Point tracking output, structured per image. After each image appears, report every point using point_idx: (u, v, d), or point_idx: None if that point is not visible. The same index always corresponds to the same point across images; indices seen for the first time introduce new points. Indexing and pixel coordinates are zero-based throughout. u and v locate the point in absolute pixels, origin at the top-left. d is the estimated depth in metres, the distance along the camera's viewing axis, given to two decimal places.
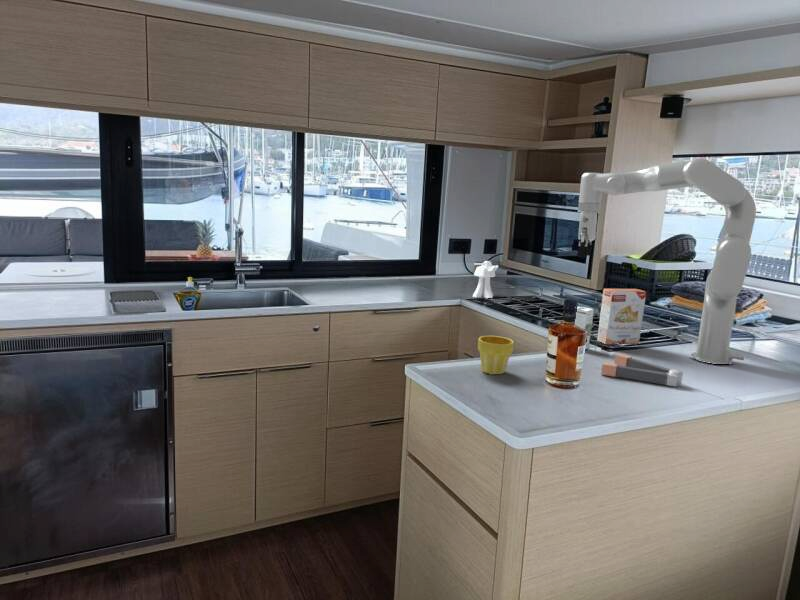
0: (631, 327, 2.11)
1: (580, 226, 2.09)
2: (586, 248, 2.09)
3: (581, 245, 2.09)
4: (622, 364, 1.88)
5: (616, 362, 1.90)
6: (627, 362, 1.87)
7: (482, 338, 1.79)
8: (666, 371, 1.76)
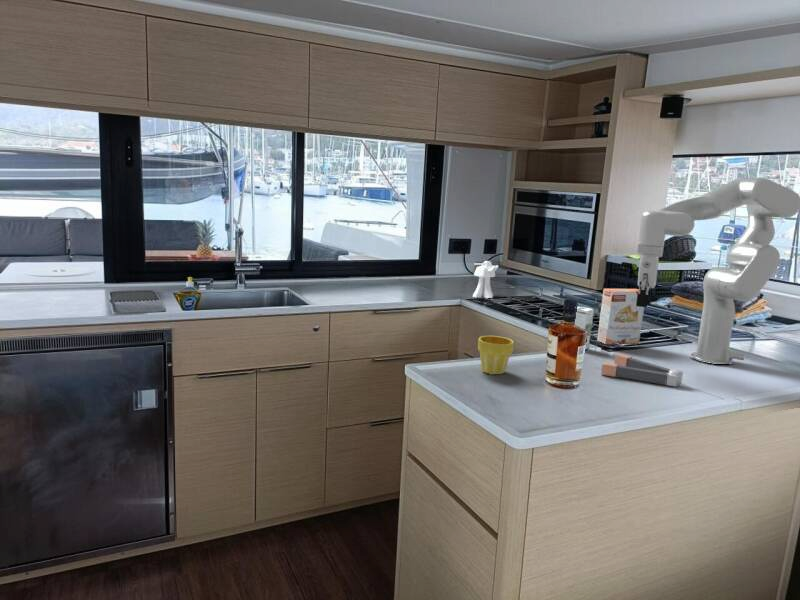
0: (631, 327, 2.11)
1: (640, 271, 1.85)
2: (647, 296, 1.85)
3: (641, 293, 1.85)
4: (622, 364, 1.88)
5: (616, 362, 1.90)
6: (627, 362, 1.87)
7: (482, 338, 1.79)
8: (666, 371, 1.76)
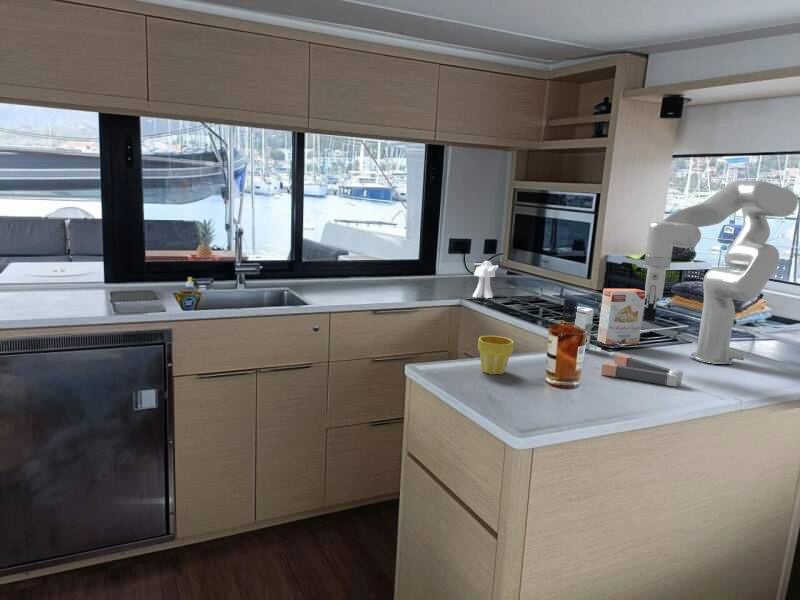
0: (630, 327, 2.11)
1: (648, 283, 1.83)
2: (654, 310, 1.87)
3: (649, 307, 1.86)
4: (622, 364, 1.88)
5: (616, 362, 1.90)
6: (627, 362, 1.87)
7: (482, 338, 1.79)
8: (666, 371, 1.76)
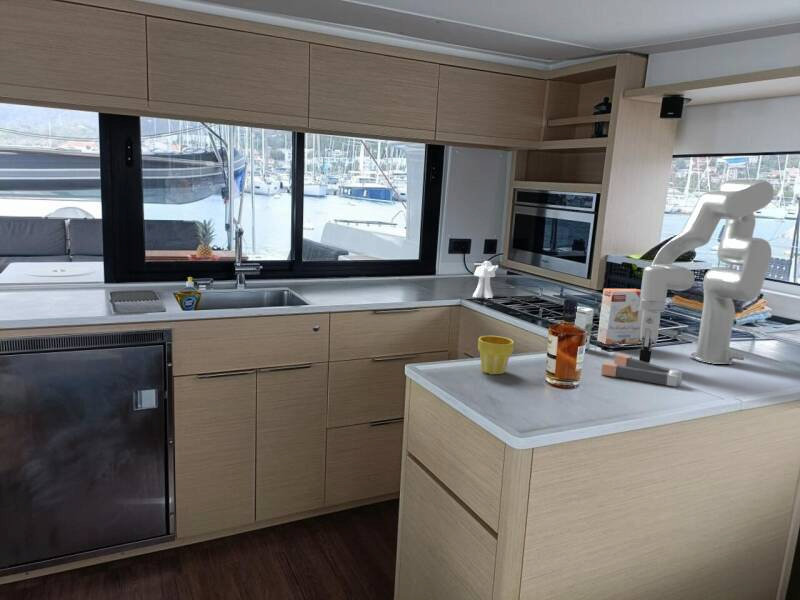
0: (630, 327, 2.11)
1: (642, 327, 1.85)
2: (649, 352, 1.89)
3: (644, 349, 1.89)
4: (622, 364, 1.88)
5: (616, 362, 1.90)
6: (627, 362, 1.87)
7: (482, 338, 1.79)
8: (666, 371, 1.76)
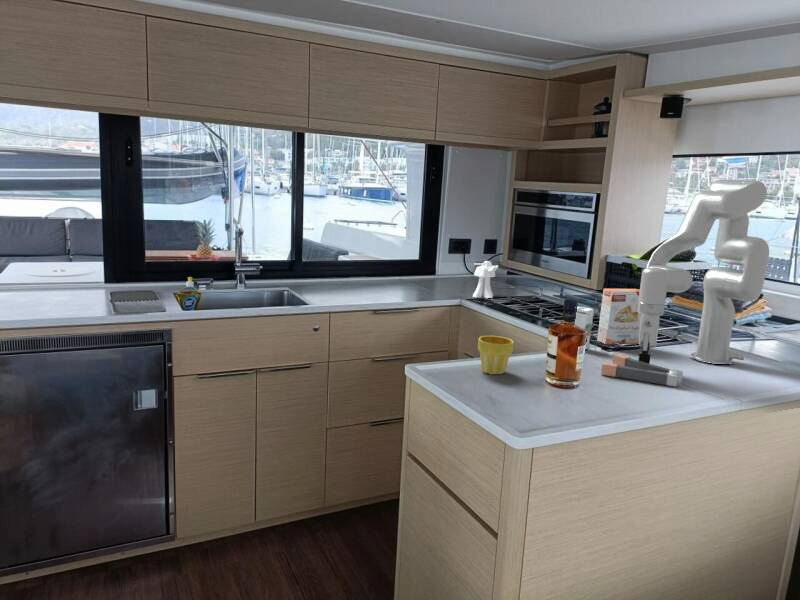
0: (631, 327, 2.11)
1: (641, 330, 1.80)
2: (648, 357, 1.84)
3: (643, 353, 1.84)
4: (620, 364, 1.87)
5: (614, 362, 1.89)
6: (625, 362, 1.86)
7: (482, 338, 1.79)
8: (666, 371, 1.76)
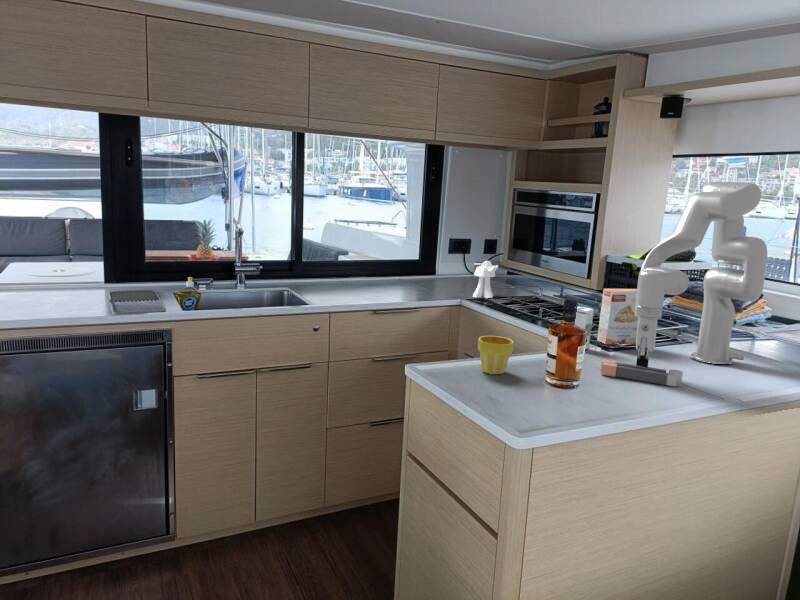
0: (631, 327, 2.11)
1: (638, 335, 1.75)
2: (646, 361, 1.79)
3: (640, 358, 1.79)
4: None
5: None
6: None
7: (482, 338, 1.79)
8: (663, 372, 1.75)
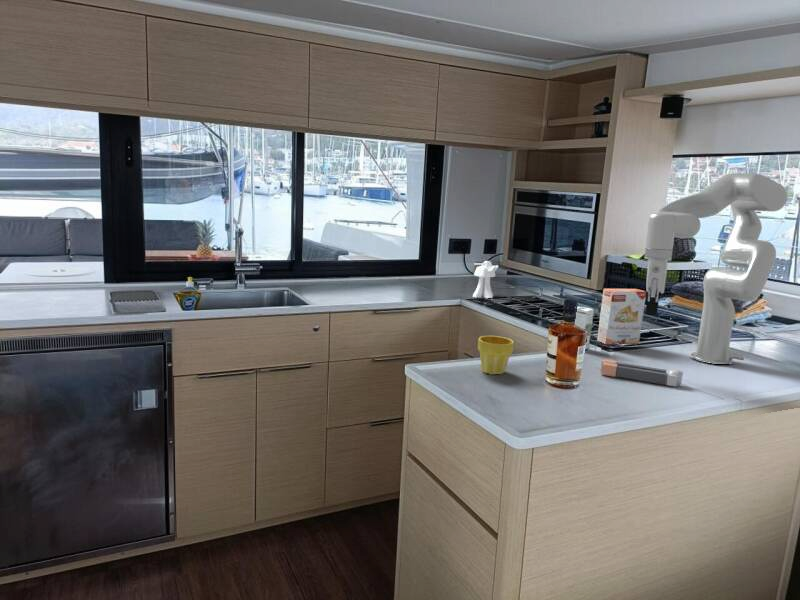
0: (631, 327, 2.11)
1: (649, 276, 1.77)
2: (656, 304, 1.81)
3: (651, 301, 1.81)
4: None
5: None
6: None
7: (482, 338, 1.79)
8: (663, 372, 1.75)
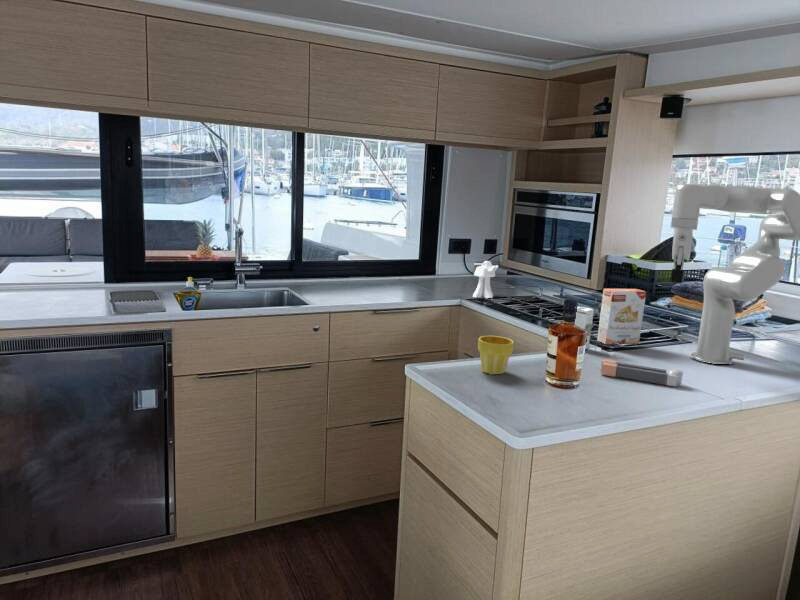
0: (631, 327, 2.11)
1: (675, 245, 1.84)
2: (681, 272, 1.89)
3: (676, 269, 1.88)
4: None
5: None
6: None
7: (482, 338, 1.79)
8: (663, 372, 1.75)
